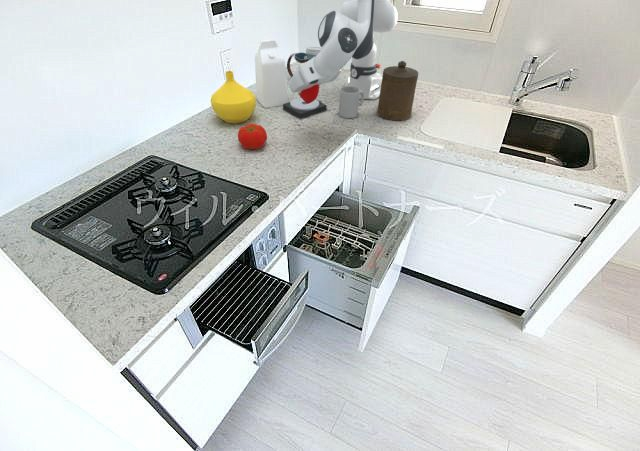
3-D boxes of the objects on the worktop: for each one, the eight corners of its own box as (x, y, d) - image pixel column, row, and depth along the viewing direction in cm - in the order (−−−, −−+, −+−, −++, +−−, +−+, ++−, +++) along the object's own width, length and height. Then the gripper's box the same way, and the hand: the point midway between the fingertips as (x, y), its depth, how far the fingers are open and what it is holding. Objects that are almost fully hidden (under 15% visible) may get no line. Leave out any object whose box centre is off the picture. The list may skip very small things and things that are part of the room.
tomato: (250, 136, 133) (248, 118, 128) (273, 143, 129) (271, 125, 124) (232, 147, 126) (229, 129, 121) (255, 155, 122) (253, 136, 117)
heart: (322, 107, 128) (323, 79, 121) (311, 110, 125) (311, 83, 118) (303, 97, 134) (303, 71, 128) (292, 100, 132) (291, 74, 125)
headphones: (322, 85, 174) (293, 79, 186) (321, 53, 164) (290, 49, 177) (314, 88, 170) (285, 82, 183) (312, 56, 161) (281, 51, 173)
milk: (280, 95, 166) (276, 36, 148) (288, 103, 158) (286, 42, 141) (256, 98, 162) (250, 38, 144) (264, 108, 154) (258, 45, 137)
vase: (215, 130, 137) (205, 81, 124) (213, 111, 150) (204, 66, 137) (260, 125, 141) (255, 78, 128) (254, 108, 154) (249, 63, 141)
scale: (308, 101, 161) (308, 94, 159) (326, 110, 153) (326, 103, 151) (283, 109, 153) (282, 102, 151) (300, 119, 146) (300, 111, 144)
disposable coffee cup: (307, 73, 191) (306, 44, 181) (325, 74, 190) (326, 45, 180) (304, 79, 183) (304, 49, 173) (324, 80, 182) (325, 50, 172)
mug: (345, 119, 146) (347, 94, 139) (334, 112, 152) (336, 87, 144) (367, 114, 151) (370, 89, 144) (356, 107, 156) (358, 83, 149)
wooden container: (401, 105, 159) (410, 55, 144) (416, 118, 148) (427, 65, 134) (372, 108, 155) (378, 57, 141) (385, 122, 145) (394, 68, 130)
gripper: (341, 54, 119) (323, 75, 131) (295, 65, 109) (280, 87, 121) (349, 70, 120) (330, 90, 132) (304, 83, 110) (288, 103, 122)
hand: (306, 89), depth 126 cm, fingers closed on heart, 5 cm apart
